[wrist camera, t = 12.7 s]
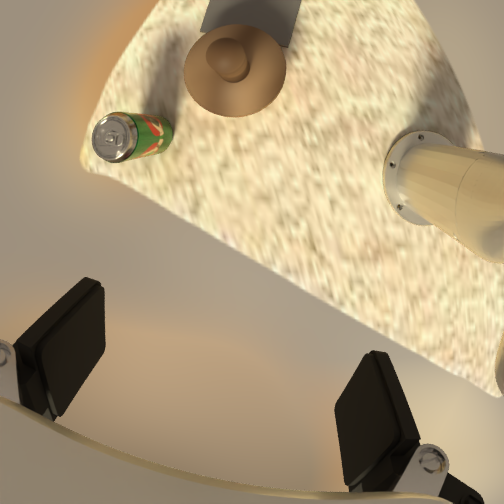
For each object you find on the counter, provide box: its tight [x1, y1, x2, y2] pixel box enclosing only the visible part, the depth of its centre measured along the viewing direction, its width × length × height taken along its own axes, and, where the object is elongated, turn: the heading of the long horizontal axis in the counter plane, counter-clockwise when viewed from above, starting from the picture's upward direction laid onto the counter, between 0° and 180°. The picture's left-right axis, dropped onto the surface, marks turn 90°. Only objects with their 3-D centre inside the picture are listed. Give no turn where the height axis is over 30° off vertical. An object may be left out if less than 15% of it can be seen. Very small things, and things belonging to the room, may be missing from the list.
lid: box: [184, 24, 286, 117], centre depth 25 cm, size 10×10×7 cm
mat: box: [200, 0, 301, 47], centre depth 29 cm, size 11×11×1 cm
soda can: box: [92, 112, 173, 163], centre depth 31 cm, size 5×5×12 cm
